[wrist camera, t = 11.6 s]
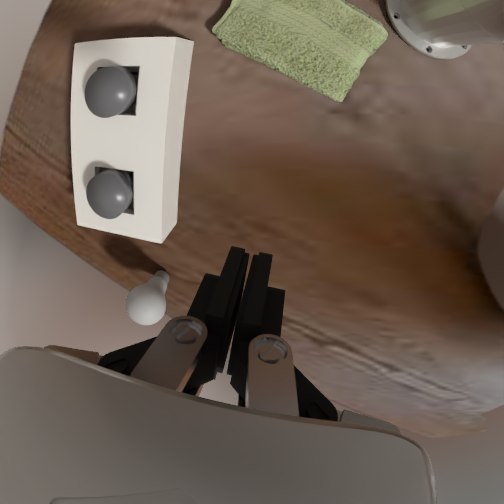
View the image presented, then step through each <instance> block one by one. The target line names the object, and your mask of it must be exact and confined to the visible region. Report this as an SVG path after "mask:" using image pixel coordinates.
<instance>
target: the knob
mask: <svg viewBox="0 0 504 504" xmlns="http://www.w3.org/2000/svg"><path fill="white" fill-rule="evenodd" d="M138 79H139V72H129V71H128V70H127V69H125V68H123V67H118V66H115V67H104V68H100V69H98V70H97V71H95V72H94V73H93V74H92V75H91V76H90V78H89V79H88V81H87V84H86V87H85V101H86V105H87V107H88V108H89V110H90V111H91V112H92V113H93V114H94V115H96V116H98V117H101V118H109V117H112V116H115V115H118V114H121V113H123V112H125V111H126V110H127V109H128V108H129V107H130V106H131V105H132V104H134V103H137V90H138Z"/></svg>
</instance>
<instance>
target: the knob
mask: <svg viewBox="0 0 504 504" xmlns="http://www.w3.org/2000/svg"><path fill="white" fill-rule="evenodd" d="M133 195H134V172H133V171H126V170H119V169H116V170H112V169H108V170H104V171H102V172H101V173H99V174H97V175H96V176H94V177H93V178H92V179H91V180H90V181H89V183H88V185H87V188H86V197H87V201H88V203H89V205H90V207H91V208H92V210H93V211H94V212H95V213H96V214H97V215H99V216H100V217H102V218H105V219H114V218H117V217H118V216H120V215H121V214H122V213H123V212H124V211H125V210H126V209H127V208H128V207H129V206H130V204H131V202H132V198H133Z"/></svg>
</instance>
